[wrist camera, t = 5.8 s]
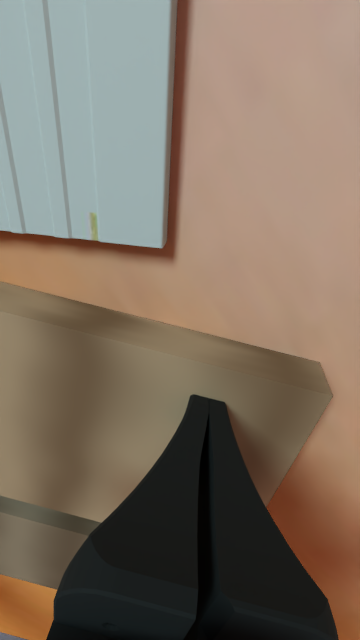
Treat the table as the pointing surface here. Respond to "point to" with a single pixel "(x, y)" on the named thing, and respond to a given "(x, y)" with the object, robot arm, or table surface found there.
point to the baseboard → (87, 118)
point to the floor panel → (39, 541)
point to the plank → (132, 400)
